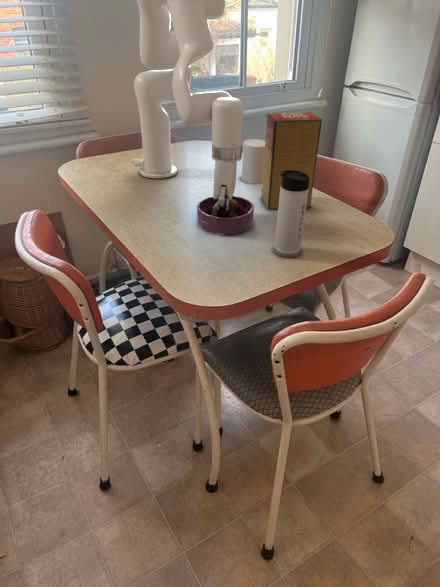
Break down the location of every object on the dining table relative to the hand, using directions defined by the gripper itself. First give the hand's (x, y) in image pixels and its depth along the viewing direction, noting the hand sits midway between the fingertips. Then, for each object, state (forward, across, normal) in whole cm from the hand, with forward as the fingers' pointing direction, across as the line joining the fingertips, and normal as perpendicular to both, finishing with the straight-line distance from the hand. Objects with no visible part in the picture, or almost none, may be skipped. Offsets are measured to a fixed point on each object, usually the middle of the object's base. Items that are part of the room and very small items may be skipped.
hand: (225, 215), depth 120 cm
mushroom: (+1, +1, 0) cm, 1 cm away
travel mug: (+2, +13, +17) cm, 22 cm away
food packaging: (+2, -17, +16) cm, 23 cm away
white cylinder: (+2, -35, +5) cm, 35 cm away
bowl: (+2, 0, 0) cm, 2 cm away
